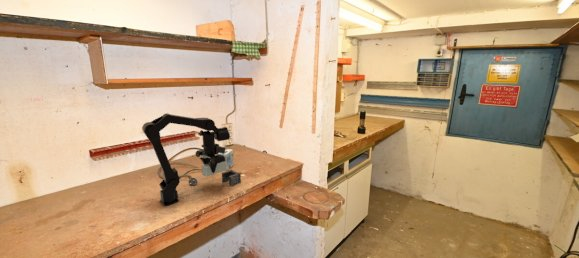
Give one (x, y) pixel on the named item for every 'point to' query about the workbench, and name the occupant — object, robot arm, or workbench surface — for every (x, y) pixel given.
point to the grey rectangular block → (219, 168)
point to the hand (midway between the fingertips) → (211, 171)
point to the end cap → (231, 177)
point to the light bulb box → (228, 158)
